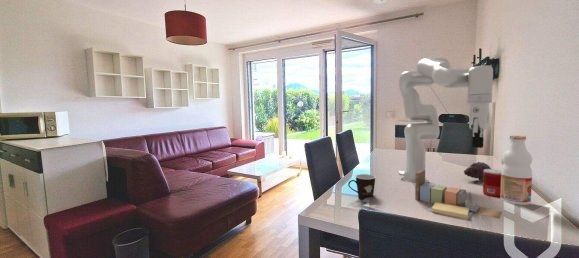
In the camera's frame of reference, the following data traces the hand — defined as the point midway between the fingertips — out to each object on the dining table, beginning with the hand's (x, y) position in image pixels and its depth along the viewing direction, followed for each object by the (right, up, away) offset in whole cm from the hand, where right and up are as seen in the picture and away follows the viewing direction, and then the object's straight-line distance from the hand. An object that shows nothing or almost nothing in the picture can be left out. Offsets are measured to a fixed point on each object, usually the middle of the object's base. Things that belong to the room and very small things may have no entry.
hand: (477, 147), depth 99 cm
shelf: (-6, -25, +4) cm, 26 cm away
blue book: (-13, -23, +11) cm, 29 cm away
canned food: (+20, -23, +18) cm, 35 cm away
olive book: (-11, -23, +8) cm, 26 cm away
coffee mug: (-39, -25, +19) cm, 50 cm away
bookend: (-4, -24, 0) cm, 24 cm away
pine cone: (+30, -21, +39) cm, 54 cm away
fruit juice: (+20, -24, +7) cm, 32 cm away
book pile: (-12, -26, -2) cm, 28 cm away
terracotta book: (-7, -23, +4) cm, 25 cm away
